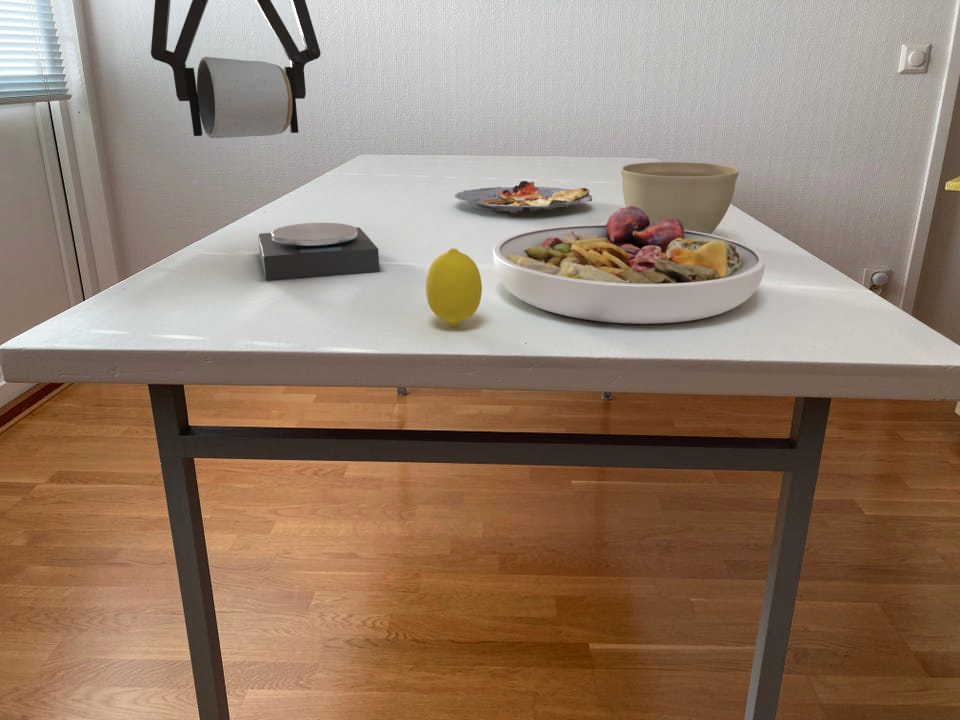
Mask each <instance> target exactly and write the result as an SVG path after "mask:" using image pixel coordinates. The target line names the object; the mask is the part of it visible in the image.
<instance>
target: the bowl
mask: <svg viewBox="0 0 960 720" xmlns="http://www.w3.org/2000/svg"><path fill="white" fill-rule="evenodd" d="M492 253H493V267H494V270H495V273H496V276H497V278H498V279H499V281H500V283H501V284H502V285H503V286H504V288H505V289H506V290H507V291H508V292H509V293H510V294H512V295H513V296H514V297H516V298H517V299H518V300H520V301H523V302H524V303H527V304H528V305H531V306H532V307H535V308H537V309H541V310H543V311H546V312H550V313H553V314H557V315H560V316H566V317H568V318H569V317H570V318H574V319H575V318H576V319H581V320H588V321H593V322H603V323H613V324H632V325H633V324H634V325H635V324H636V325H637V324H638V325H640V324H641V325H649V324H650V325H655V324H672V323H683V322H691V321H696V320H702V319H706V318H711V317H715V316H717V315H720V314H721V315H722V314H723V313H726V312H728V311H731V310H733V309H735V308H736V307H739V306H740V305H742V304H743V303H745V302H746V301H747V300H749V298H751V297H752V296H753V294H755V292H756V291H757V290H758V288H759V286H760V284H761V283H762V280H763V277H764V274H765V268H766V258H765V256H764V255H763V254H762V253H761V252H760V251H759V250H758V249H756V248H754V247H753V246H751V245H748V244H746V243H743V242H741V241H738V240H735V239H731V238H728V237H725V236H720V235H715V234H712V233H711V234H707V233H701V232H695V231H689V230H684V228H683V225H682V224H681V222H680V220H678V219H677V218H674V217H665V218H662V219H660V220H658V221H656V222H655V223H653V224H651V225H650V221H649V218H648V216H647V215H646V213H645V212H644V211H643V210H641V209H640V208H637V207H633V206H629V207H626V206H625V207H621V208H619V209H618V210H616V211H614V212H613V213H612V214H611V215H610V216H609V218H608V220H607V222H606V224H578V225H577V224H576V225H563V226H561V225H560V226H552V227H544V228H539V229H532V230H528V231H523V232H519V233H515V234H513V235H510V236H507V237H505V238H503V239H501V240H500V241H498V242H497V243H496V244H495V245H494V247H493V252H492Z"/></svg>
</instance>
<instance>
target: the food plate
mask: <svg viewBox="0 0 960 720" xmlns="http://www.w3.org/2000/svg"><path fill="white" fill-rule="evenodd" d="M454 197H455V198H456V199H457V200H458V201H462V202H466V203H470V204H473V205H476V206H477V207H478V208H481V209H485V210H489V211H495V212H506V213H507V212H509V213H511V214H514V213H518V211H524V209H529V211H539V210H540V211H546V210H554V209H556V208H559V207H560V208H562V207H563V208H566V209H568V208H569V206H571V207H572V206H574V205H579V204H581V203H588V202H592V201H593V196H592V194H590V189H589V188H586V187H579V188H575V189H569V188H560V187H545V186H544V187H543V186H536V185H535V182H534V181H533V180H532V181H530V182H529V181H527V180H522V181H521V180H520V182H519V183H518V185H514V186H510V187H509V186H508V187H507V186H506V187H502V186H497V187H495V186H494V187H493V186H492V187H481V188H474V189H467V190H462V191H459V192H457V193H455V194H454Z"/></svg>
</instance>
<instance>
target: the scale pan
mask: <svg viewBox="0 0 960 720" xmlns="http://www.w3.org/2000/svg"><path fill="white" fill-rule="evenodd" d="M357 228H358V227H356V226H353V225H350V224H346V223H338V222H308V223H307V222H305V223H297V224H296V223H295V224H289V225H285V226H280V227H278V228H276V229H273V230H272V231H271V233H272V240H273V241H274V242H277V243H280V244H285V245H293V246H321V245H331V244H338V243H343V242H347V241H350V240H353V239H355V238H356V237H357V235H358V232H357Z"/></svg>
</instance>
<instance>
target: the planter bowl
mask: <svg viewBox="0 0 960 720" xmlns="http://www.w3.org/2000/svg"><path fill="white" fill-rule="evenodd" d="M739 171H740V170H739V169H738V168H737V167H734V166H731V165H726V164H721V163H712V162H698V161H697V162H696V161H648V162H647V161H646V162H636V163H629V164H626V165H623V166H622V167H621V168H620V174H621V179H622V184H621V185H622V196H623V197H622V198H623V201H624V205H625V208H626V207H629V206H633V207H637V208H640V209H641V210H643V211H644V212H645V213H646V215H647V216H648V218H649V221H650V225H651V224H653V223H655V222H656V221H658V220H660V219H662V218H665V217H674V218H677V219H678V220H680V222H681V224H682V225H683V228H684V230H689V231H695V232H701V233H707V234H712V233H713V232H714V231H715V230H716V229H717V227H718V226H719V225H720V223H721V222H722V221H723V219H724V217H725V216H726V214H727V212H728V210H729V208H730V206H731V203H732V200H733V197H734V193H735V188H736V182H737V179H738V176H739Z"/></svg>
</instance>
